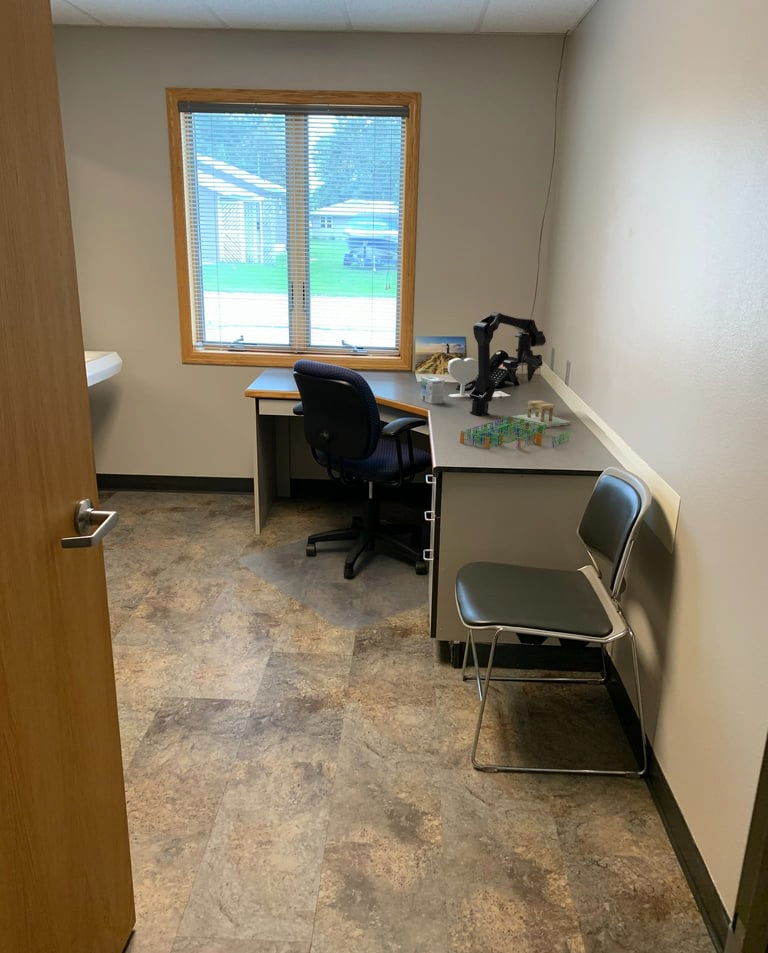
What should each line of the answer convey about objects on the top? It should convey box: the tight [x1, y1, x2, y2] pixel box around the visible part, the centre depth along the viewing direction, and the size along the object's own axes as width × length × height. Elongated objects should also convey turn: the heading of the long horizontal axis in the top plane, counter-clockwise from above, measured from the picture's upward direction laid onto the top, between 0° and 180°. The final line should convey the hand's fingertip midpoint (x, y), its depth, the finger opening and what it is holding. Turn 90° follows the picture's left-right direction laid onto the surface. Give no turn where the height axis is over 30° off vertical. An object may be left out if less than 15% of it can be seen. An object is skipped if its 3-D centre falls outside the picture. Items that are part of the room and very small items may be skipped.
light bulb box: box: [419, 375, 445, 405], centre depth 348 cm, size 11×7×11 cm, turn 27°
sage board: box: [511, 412, 571, 429], centre depth 317 cm, size 18×18×1 cm
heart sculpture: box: [447, 357, 479, 398], centre depth 361 cm, size 16×5×18 cm, turn 105°
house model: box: [459, 415, 570, 450], centre depth 286 cm, size 35×30×5 cm
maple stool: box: [527, 399, 556, 422], centre depth 315 cm, size 10×6×7 cm, turn 30°
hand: (521, 382), depth 337 cm, fingers open, 9 cm apart
